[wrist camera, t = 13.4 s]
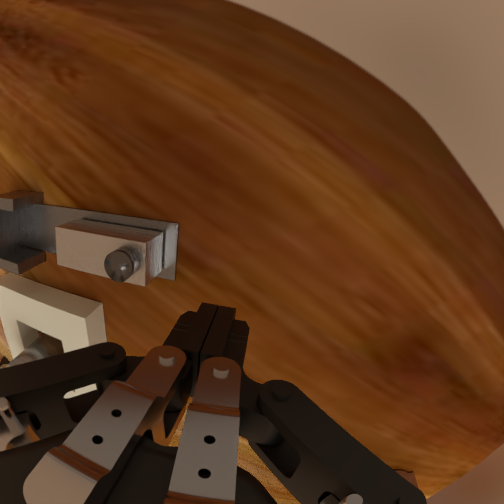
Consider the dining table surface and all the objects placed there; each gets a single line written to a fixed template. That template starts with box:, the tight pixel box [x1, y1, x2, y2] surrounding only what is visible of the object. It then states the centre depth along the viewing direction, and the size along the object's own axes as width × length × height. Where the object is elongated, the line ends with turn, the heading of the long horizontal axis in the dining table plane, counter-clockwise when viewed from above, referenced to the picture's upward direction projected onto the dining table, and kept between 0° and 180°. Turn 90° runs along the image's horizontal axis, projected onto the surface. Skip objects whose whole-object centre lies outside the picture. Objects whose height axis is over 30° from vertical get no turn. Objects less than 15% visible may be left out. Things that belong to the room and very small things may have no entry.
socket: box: [0, 272, 107, 398], centre depth 24 cm, size 14×14×3 cm
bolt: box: [55, 219, 163, 286], centre depth 19 cm, size 8×3×4 cm, turn 82°
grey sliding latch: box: [0, 190, 179, 281], centre depth 20 cm, size 18×7×4 cm, turn 82°
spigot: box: [0, 333, 64, 369], centre depth 22 cm, size 5×5×9 cm
